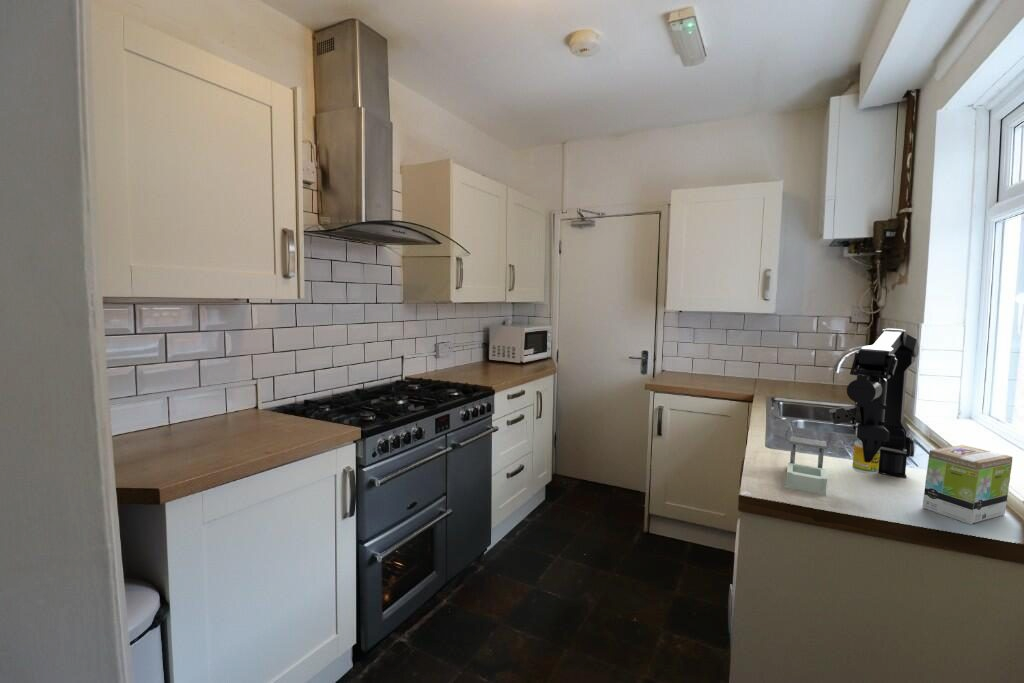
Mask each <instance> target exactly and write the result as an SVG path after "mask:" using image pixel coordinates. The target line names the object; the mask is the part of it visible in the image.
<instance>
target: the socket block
mask: <svg viewBox="0 0 1024 683" xmlns="http://www.w3.org/2000/svg"><path fill="white" fill-rule="evenodd" d="M786 469H787V471H786V479H785V481H786V482H785V488H786V489H792V490H796V491H802V492H807V493H812V494H816V495H822V496H823V495H824V496H827V485H828V484H827V483H828V477H827V476H828V475H827V469H826V468H824V467H822V468H818V466H817V467H815V466H809V465H805V464H797V463H795V464H793V463H790V462H788V463H787V468H786Z"/></svg>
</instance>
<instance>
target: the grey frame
mask: <svg viewBox="0 0 1024 683" xmlns="http://www.w3.org/2000/svg"><path fill="white" fill-rule="evenodd" d="M789 438H790V439H789V445H790V458H789V459H790V460H789V463H793V464H796V462H795V461H796V450H797V449H796V448H797V446H801V447H807V448H808V447H809V448H815V449H818V458H817V468H824V467H823V465H824V455H825V454H824V453H825V450H827V448H828V446H827V441H826V440H819V439H813V438H803V437H797V436H789Z"/></svg>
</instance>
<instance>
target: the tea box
mask: <svg viewBox="0 0 1024 683" xmlns="http://www.w3.org/2000/svg"><path fill="white" fill-rule="evenodd" d="M1012 465H1013V456H1011V455H1008V454H1002V453H999V452H994V451H990V450H986V449H981V448H978V447H973V446H968V445H964V444H960V445H956V446H955V445H954V446H949V447H948V446H946V447H942V448H935V449H931V450H929V454H928V462H927V468H926V476H925V484H924V493H923V497H922V498H923V499H922V508H923V509H926V510H929V511H930V512H933V513H936V514H939V515H942V516H945V517H949V518H951V519H953V520H958V521H959V522H962V523H964V524H965V523H966V524H968V525H973V524H974V523H979V522H982V521H986V520H989V519H993V518H998V517H1001V516H1004V515H1005V514H1006V509H1007V502H1008V494H1009V486H1010V481H1011V472H1012Z"/></svg>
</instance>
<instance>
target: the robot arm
mask: <svg viewBox="0 0 1024 683" xmlns="http://www.w3.org/2000/svg"><path fill="white" fill-rule="evenodd" d="M880 332H881V333H880V336H879V337H878V338H877V339H876V340H875V341H874V343H873V344H871V345H864V346H863V347H861V348H859V350H858V351H856V352H855V355H854V357H853V358H854V359H853V360H852V361H853V362H852V365H851V368H850V372H849V375H850V376H856V379H855V380H852V381H850V383H848V385H847V387H846V394H847V396H848V398H849V399H850V400H851V401H853V402H854V404H853V405H846V406H839V407H836V408H831V409H829V410H828V411H829V416H830V418H831V420H832V423H833V424H834V425H839V424H841V423H847V422H850V423H851V424H852V425H851V426H852V429H853V430H854V431H855V438H857V439H858V440H859V439H860V440H861V441H862V446H863V454H864V461H865V462H868V463H870V462H871V460H872V459H873V458H874V456H875V455H876V453H877V452H878V451H879V449H880V458H879V469H878V473H879V474H882V475H888V476H895V477H900V478H907V474H906V471H907V470H906V469H907V460H908V458H910V457H915V442H914V441H913V437H912V435H910V434H911V429H910V427H909V425H908V424H907V423H906V421H905V420H904V417H905V404H906V403H905V402H906V389H907V377H908V370H909V369H910V368H911V366H913V364H914V363H915V362H916V358H918V356H919V352H920V350H919V349H920V346H919V343H918V339H917V338H915V337H914V336H912V335H910V334H908V333H907V331H906V330H905V329H903V328H902V329H900V328H885V329H884V328H883V329H882V330H881V331H880ZM855 423H856V424H855ZM853 424H855V425H853ZM878 473H877V474H878Z"/></svg>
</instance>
